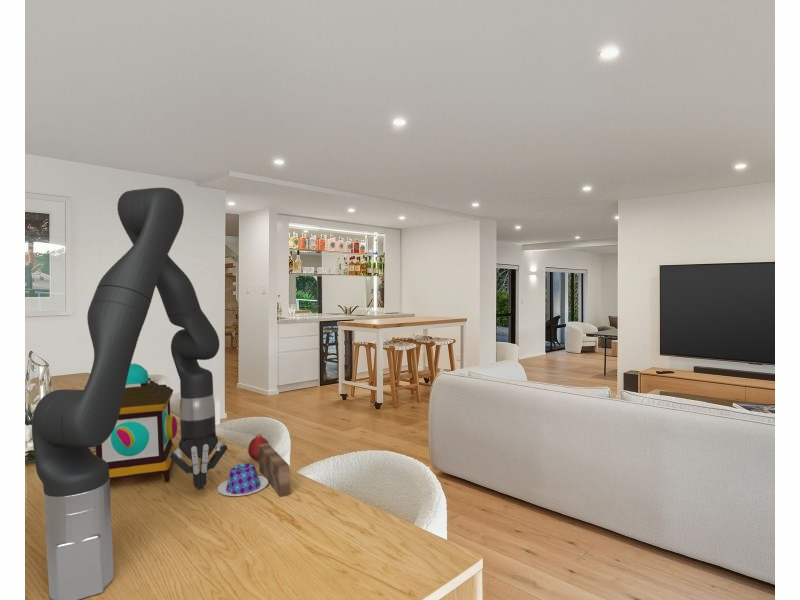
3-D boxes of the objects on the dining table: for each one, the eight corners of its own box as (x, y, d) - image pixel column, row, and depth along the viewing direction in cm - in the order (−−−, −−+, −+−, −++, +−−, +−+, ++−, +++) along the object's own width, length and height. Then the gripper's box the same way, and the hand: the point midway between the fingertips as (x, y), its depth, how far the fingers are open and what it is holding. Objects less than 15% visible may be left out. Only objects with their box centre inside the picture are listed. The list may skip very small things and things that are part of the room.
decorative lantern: (182, 457, 141) (178, 355, 140) (174, 484, 123) (169, 366, 121) (104, 467, 135) (99, 360, 134) (83, 497, 116) (76, 373, 115)
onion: (248, 466, 133) (247, 437, 133) (249, 459, 139) (248, 431, 139) (270, 464, 135) (269, 435, 135) (270, 456, 141) (269, 429, 140)
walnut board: (290, 494, 115) (289, 465, 115) (279, 497, 114) (279, 467, 114) (268, 468, 132) (267, 443, 131) (259, 470, 131) (258, 444, 130)
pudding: (253, 474, 129) (252, 454, 129) (277, 487, 120) (276, 466, 120) (209, 488, 120) (208, 467, 120) (231, 503, 112) (230, 481, 112)
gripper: (167, 423, 106) (170, 500, 107) (230, 414, 113) (232, 487, 114) (165, 415, 113) (167, 488, 114) (224, 407, 119) (226, 476, 120)
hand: (200, 487), depth 114 cm, fingers closed
